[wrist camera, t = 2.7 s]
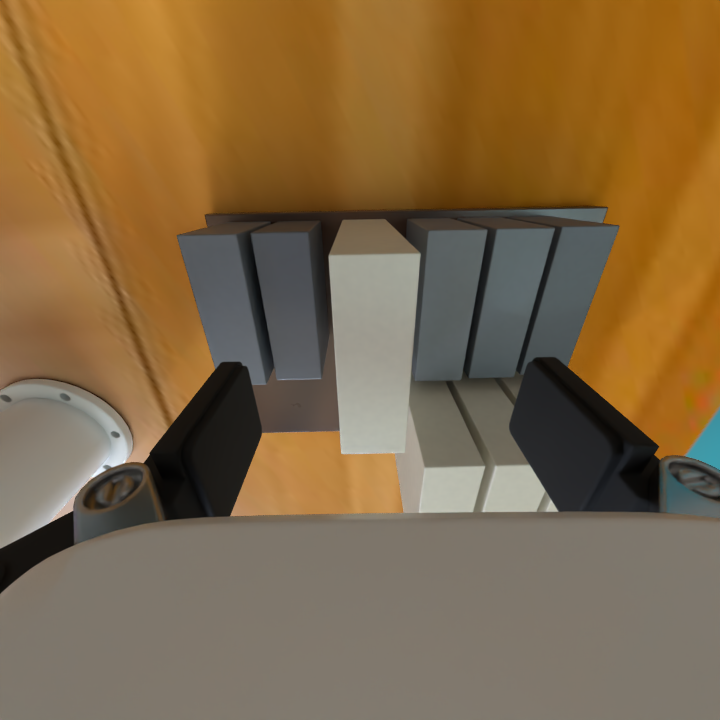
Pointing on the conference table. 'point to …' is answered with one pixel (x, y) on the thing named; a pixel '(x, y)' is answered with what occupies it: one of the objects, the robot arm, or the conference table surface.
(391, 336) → the ivory book
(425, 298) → the grey books
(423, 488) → the ivory books
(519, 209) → the shelf board
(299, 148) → the conference table surface
